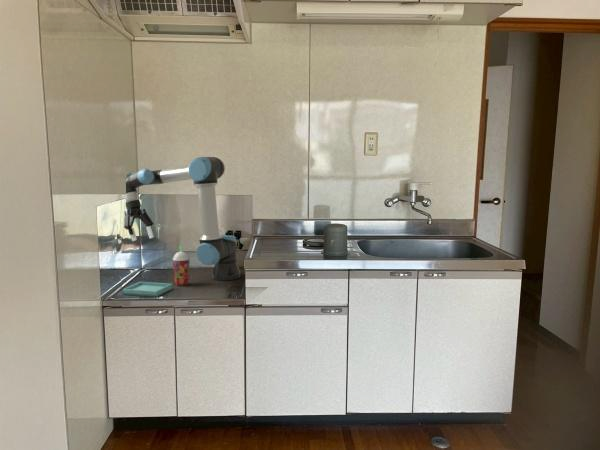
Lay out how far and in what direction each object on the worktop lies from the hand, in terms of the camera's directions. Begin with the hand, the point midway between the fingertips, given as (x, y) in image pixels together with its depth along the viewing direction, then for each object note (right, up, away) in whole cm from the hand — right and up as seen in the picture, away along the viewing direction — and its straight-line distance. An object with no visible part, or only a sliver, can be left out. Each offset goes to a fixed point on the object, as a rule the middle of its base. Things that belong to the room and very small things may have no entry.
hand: (143, 239), depth 244 cm
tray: (+10, -25, -22) cm, 35 cm away
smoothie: (+24, -23, -10) cm, 35 cm away
